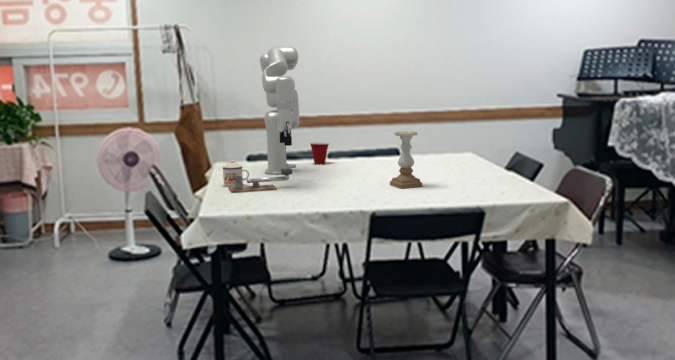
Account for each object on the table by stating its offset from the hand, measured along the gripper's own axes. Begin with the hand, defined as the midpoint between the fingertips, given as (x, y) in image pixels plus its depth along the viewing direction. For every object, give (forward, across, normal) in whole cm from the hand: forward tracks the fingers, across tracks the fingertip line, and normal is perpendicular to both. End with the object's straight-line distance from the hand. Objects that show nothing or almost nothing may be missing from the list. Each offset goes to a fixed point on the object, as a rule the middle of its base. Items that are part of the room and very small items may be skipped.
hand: (285, 144), depth 301 cm
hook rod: (+16, +1, -8) cm, 18 cm away
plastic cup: (+21, -62, +32) cm, 73 cm away
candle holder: (+19, +18, +50) cm, 57 cm away
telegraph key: (+19, +1, -16) cm, 25 cm away
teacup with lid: (+20, -12, -21) cm, 31 cm away
